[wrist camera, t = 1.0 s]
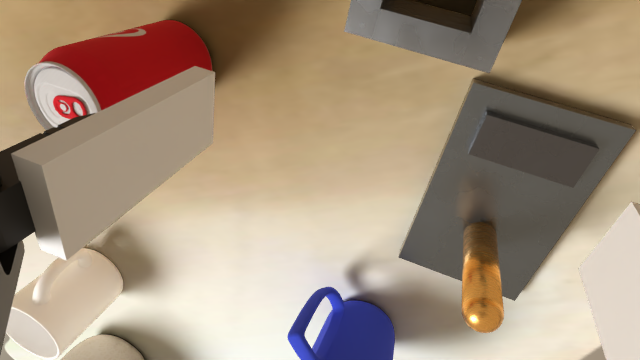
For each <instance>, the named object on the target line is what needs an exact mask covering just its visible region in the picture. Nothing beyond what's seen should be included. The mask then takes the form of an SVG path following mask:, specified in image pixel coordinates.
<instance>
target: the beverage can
mask: <svg viewBox="0 0 640 360" xmlns="http://www.w3.org/2000/svg"><path fill="white" fill-rule="evenodd" d="M194 66H197V67H200V68H203V69H207V70H210V71H212V63H211V58H210V55H209V52H208V49H207V47H206V45H205V44H204V42H203V41H202V39H201V38H200V37H199V35H198V34H197V33H196V32H195V31H194V30H192V29H191V28H190V27H188V26H187V25H185V24H183V23H181V22H178V21H174V20H164V21H159V22H156V23H152V24H148V25H144V26H140V27H136V28H132V29H128V30H124V31H120V32H116V33H112V34H108V35H104V36H101V37H97V38H93V39H89V40H85V41H81V42H77V43H73V44H69V45H65V46H61V47H57V48H55V49H53V50H52V51H50V52H48V53H47V54H46V55H45V56H44V57H43V58H42V60H41V61H40V62H39V63H38V64H35V65H34V66H32V67H31V68H30V69H29V70H28V72H27V75H26V77H25V93H26V97H27V100H28V103H29V106H30V108H31V110H32V112H33V114H34V115H35V117H36V118H37V120H38V121H39V123H40V124H41V125H42V126H43V127H44V128H45V130H48V129H51V128H53V127H56V128H57V127H58V125H59V124H61V123H64V122H66V121H68V120H70V119H72V118H74V117H79V116H83V115H88V114H92V113H97V112H99V111H101V110H104V109H106V108H108V107H110V106H112V105H114V104H116V103H118V102H120V101H122V100H125V99H127V98H129V97H131V96H133V95H135V94H137V93H139V92H141V91H143V90H146V89H148V88H150V87H152V86H154V85H156V84H158V83H160V82H162V81H164V80H166V79H169V78H171V77H173V76H175V75H177V74H179V73H181V72H183V71H185V70H187V69H190V68H192V67H194Z"/></svg>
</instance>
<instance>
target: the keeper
mask: <svg viewBox="0 0 640 360" xmlns="http://www.w3.org/2000/svg"><path fill="white" fill-rule="evenodd" d="M635 131H636V130H635V129H634V128H633V127H632V125H631V124H628V123H624V122H621V121H617V120H614V119H611V118H607V117H604V116H600V115H597V114H593V113H590V112H587V111H583V110H580V109H576V108H573V107H569V106H566V105H563V104H559V103H556V102H552V101H549V100H545V99H542V98H539V97H535V96H532V95H528V94H525V93H521V92H518V91H515V90H511V89H508V88H504V87H501V86H497V85H494V84H491V83H487V82H484V81H480V80H477V79H473V80H472V82H471V85H470V87H469V89H468V92H467V94H466V96H465V99H464V101H463V103H462V106H461V108H460V110H459V113H458V115H457V118H456V120H455V122H454V125H453V127H452V129H451V132H450V134H449V136H448V139H447V141H446V143H445V146H444V148H443V151H442V153H441V155H440V158H439V160H438V162H437V165H436V167H435V169H434V172H433V174H432V176H431V179H430V181H429V183H428V186H427V188H426V191H425V193H424V195H423V198H422V200H421V202H420V205H419V207H418V209H417V212H416V214H415V216H414V219H413V221H412V224H411V226H410V228H409V231H408V233H407V235H406V238H405V240H404V242H403V245H402V247H401V249H400V253H399V258H402V259H404V260H407V261H410V262H412V263H415V264H418V265H421V266H423V267H426V268H429V269H431V270H434V271H437V272H439V273H442V274H445V275H447V276H450V277H453V278H455V279H458V280H461V281H462V315H463V318H464V320H465V322H466V323H467V325H468V326H469V327H470V328H472V329H473V330H475V331H477V332H481V333H489V332H493V331H495V330H496V329H498V328H499V327H500V325H501V324H502V322H503V318H504V310H503V299H502V296H504V297H506V298H509V299H512V300H514V301H515V300H516V298H517V297H518V295H519V294H520V293H521V291H522V290H523V288H524V287H525V286H526V284H527V283H528V281H529V280H530V279H531V277H532V276H533V274H534V273H535V271H536V270H537V269H538V267H539V266H540V264H541V263H542V262H543V260H544V259H545V257H546V256H547V255H548V253H549V252H550V250H551V249H552V248H553V246H554V245H555V243H556V242H557V241H558V239H559V238H560V236H561V235H562V234H563V232H564V231H565V229H566V228H567V227H568V225H569V224H570V222H571V221H572V219H573V218H574V217H575V215H576V214H577V212H578V211H579V210H580V208H581V207H582V205H583V204H584V203H585V201H586V200H587V198H588V197H589V196H590V194H591V193H592V191H593V190H594V189H595V187H596V186H597V184H598V183H599V182H600V180H601V179H602V177H603V176H604V175H605V173H606V172H607V170H608V169H609V167H610V166H611V165H612V163H613V162H614V160H615V159H616V158H617V156H618V155H619V153H620V152H621V151H622V149H623V148H624V146H625V145H626V144H627V142H628V141H629V139H630V138H631V137H632V135H633V134H634V132H635Z"/></svg>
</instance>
